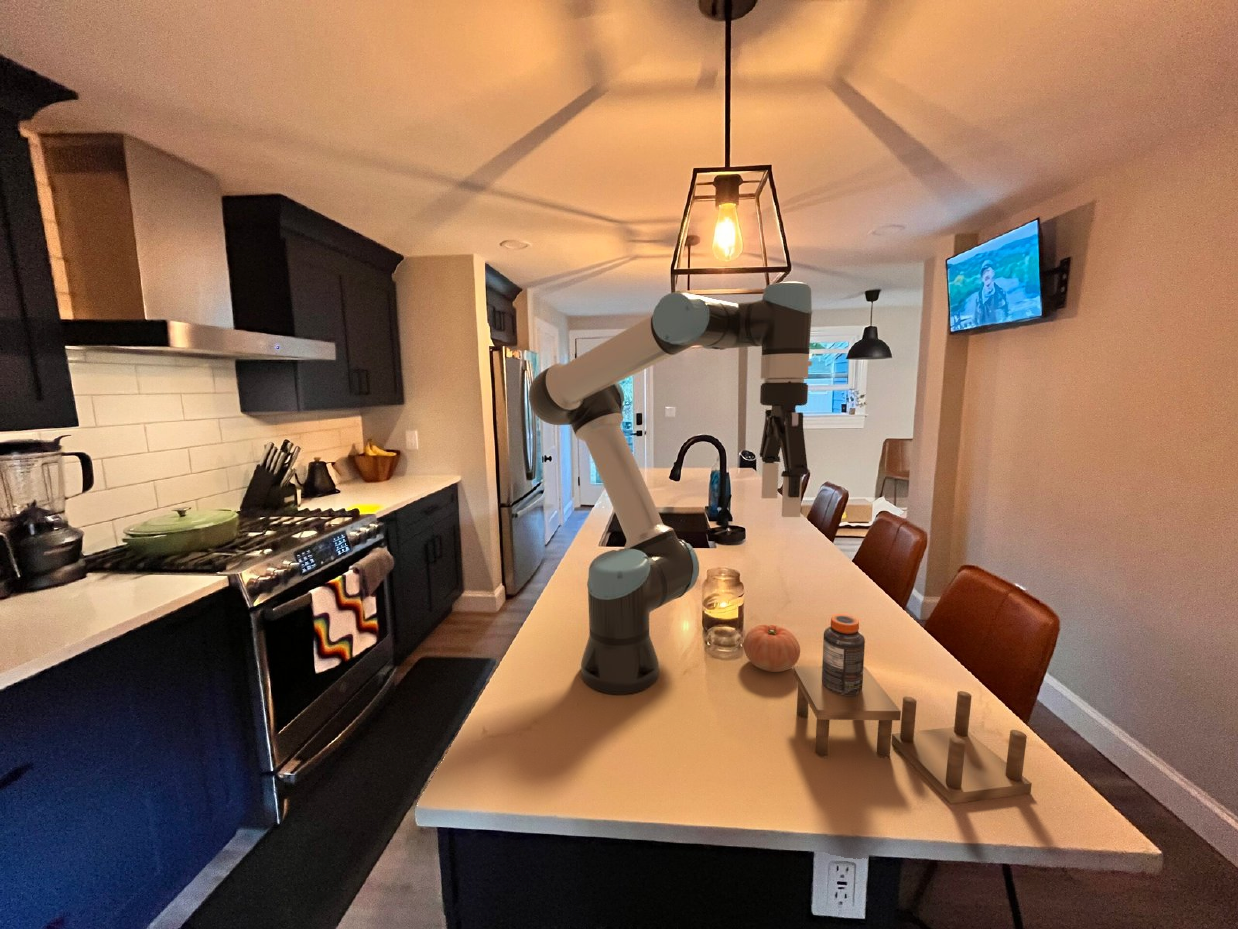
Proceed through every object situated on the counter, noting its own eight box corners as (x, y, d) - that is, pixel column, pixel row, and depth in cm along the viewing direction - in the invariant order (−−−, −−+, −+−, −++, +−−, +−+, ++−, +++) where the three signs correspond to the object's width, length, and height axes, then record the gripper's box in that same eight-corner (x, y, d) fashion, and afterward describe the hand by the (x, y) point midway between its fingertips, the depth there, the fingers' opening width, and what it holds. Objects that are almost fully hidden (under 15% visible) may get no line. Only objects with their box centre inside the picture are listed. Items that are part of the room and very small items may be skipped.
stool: (815, 759, 77) (817, 710, 75) (791, 709, 89) (793, 666, 87) (897, 760, 76) (900, 711, 75) (862, 710, 88) (865, 666, 87)
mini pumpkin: (731, 664, 103) (732, 626, 102) (763, 646, 110) (764, 611, 109) (779, 688, 95) (780, 647, 94) (810, 667, 102) (811, 629, 100)
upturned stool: (950, 804, 68) (956, 749, 67) (891, 742, 80) (895, 695, 79) (1030, 793, 70) (1037, 740, 69) (960, 734, 82) (965, 688, 80)
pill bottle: (856, 677, 84) (860, 612, 82) (866, 699, 78) (871, 629, 76) (818, 674, 85) (821, 609, 83) (825, 695, 79) (828, 625, 77)
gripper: (835, 380, 73) (827, 526, 76) (785, 381, 97) (781, 491, 100) (782, 381, 73) (776, 526, 76) (745, 382, 97) (742, 491, 101)
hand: (779, 506), depth 88 cm, fingers open, 13 cm apart
